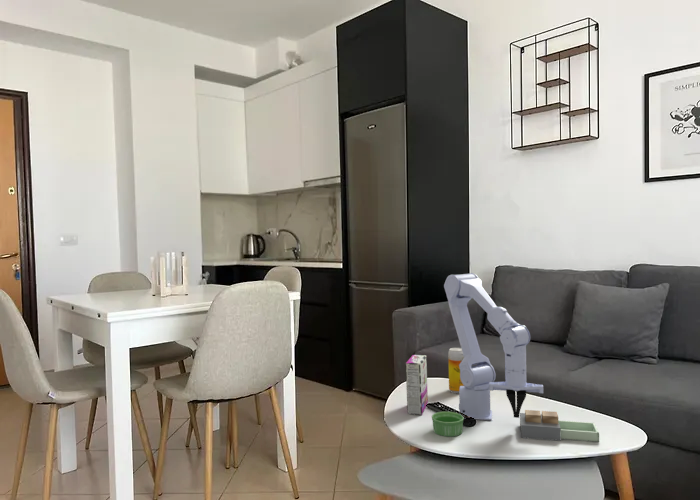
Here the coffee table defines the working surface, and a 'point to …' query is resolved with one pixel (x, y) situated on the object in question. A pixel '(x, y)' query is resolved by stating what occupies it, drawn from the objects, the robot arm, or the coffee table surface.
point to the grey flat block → (539, 429)
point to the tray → (579, 431)
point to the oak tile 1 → (532, 416)
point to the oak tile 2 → (549, 417)
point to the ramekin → (447, 423)
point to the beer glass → (455, 369)
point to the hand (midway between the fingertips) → (516, 416)
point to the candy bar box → (416, 384)
